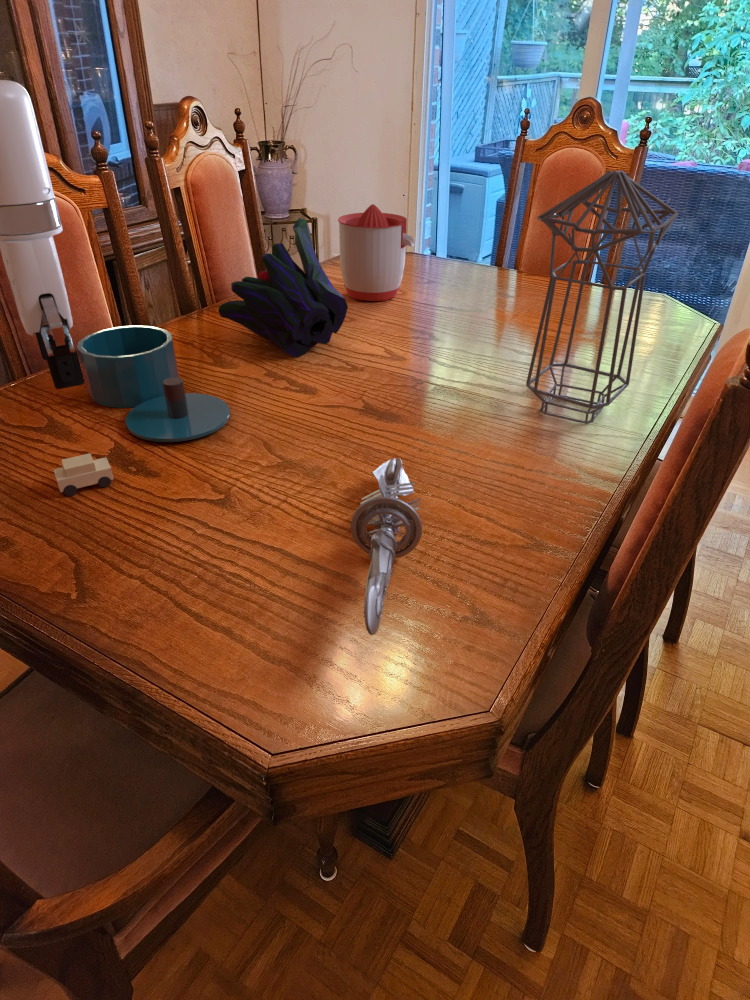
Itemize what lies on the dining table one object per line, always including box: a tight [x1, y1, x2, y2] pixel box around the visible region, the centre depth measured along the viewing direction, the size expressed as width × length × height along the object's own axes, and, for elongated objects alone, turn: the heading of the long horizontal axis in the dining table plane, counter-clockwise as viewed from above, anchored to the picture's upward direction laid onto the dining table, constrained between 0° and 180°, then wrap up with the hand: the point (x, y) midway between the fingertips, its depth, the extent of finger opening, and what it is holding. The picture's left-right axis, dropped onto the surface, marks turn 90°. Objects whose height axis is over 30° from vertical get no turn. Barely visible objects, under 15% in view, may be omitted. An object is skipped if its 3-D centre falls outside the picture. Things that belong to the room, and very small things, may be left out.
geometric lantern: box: [525, 169, 679, 425], centre depth 97 cm, size 16×16×35 cm
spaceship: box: [350, 457, 423, 636], centre depth 73 cm, size 8×35×8 cm
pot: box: [76, 325, 180, 409], centre depth 110 cm, size 15×15×8 cm
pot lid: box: [124, 377, 231, 443], centre depth 101 cm, size 16×16×7 cm
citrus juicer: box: [337, 203, 416, 302], centre depth 152 cm, size 16×17×20 cm
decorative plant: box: [218, 217, 349, 358], centre depth 130 cm, size 21×26×30 cm
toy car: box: [53, 452, 115, 497], centre depth 86 cm, size 7×3×4 cm, turn 119°
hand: (63, 371), depth 79 cm, fingers open, 9 cm apart
